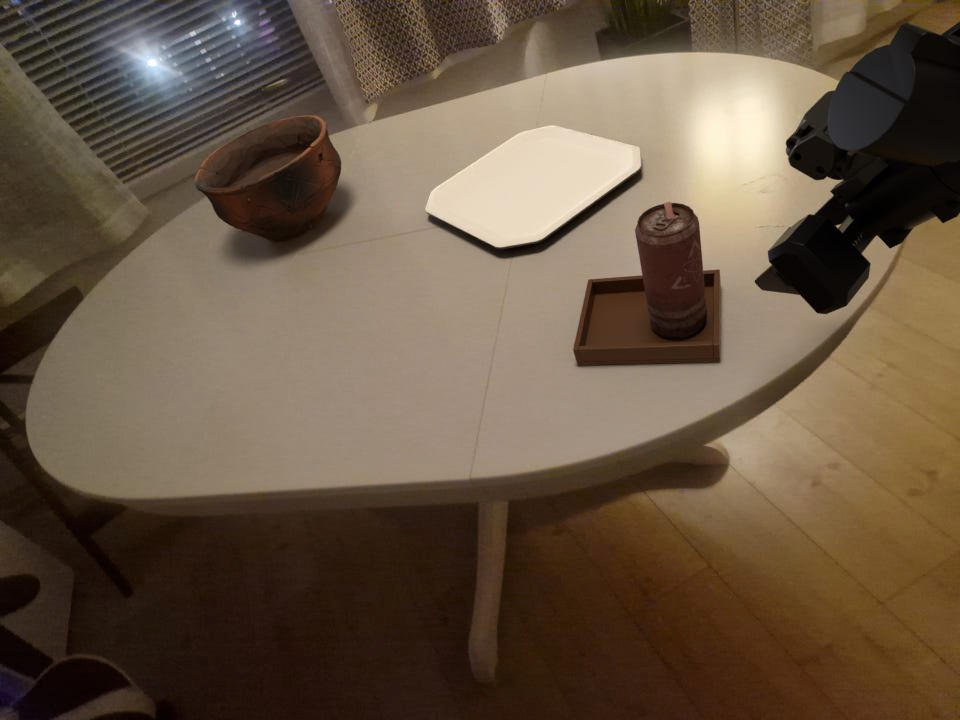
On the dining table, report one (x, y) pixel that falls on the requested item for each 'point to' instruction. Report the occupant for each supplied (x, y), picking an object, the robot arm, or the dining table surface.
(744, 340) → the dining table surface
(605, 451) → the dining table surface
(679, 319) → the can
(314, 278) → the dining table surface
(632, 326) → the tray
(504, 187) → the plate
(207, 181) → the bowl
